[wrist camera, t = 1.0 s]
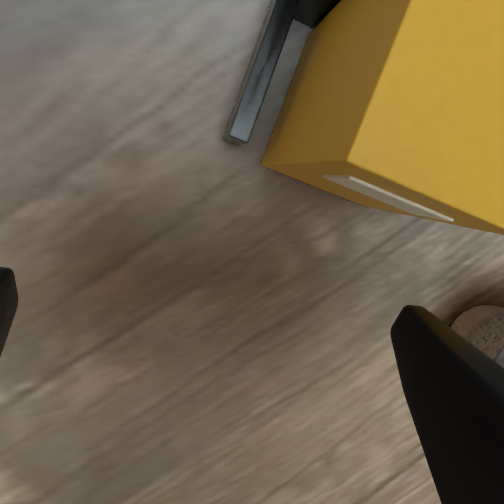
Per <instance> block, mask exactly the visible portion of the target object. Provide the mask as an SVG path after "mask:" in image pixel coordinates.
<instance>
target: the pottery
mask: <svg viewBox="0 0 504 504" xmlns="http://www.w3.org/2000/svg"><path fill="white" fill-rule="evenodd" d="M450 328H452V329H453V330H454V331H456V332H457V333H458V334H460V335H461V336H462V337H464V338H465V339H466V340H468V341H469V342H470V343H472V344H473V345H474V346H476V347H477V348H478V349H479V350H481V351H482V352H483V353H485V354H486V355H487V356H489V357H490V358H491V359H493V360H494V361H495V362H497V363H498V364H499V365H501V366H502V367H503V368H504V307H503V308H500V307H498V306H493V305H481V306H476V307H473V308H470V309H469V310H467V311H465V312H463V313H462V314H461V315H460V316H459V317H458V318H457V319H456V320H455V321H454V322H453V324H452V325H451V327H450Z"/></svg>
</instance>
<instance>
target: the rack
mask: <svg viewBox="0 0 504 504" xmlns="http://www.w3.org/2000/svg"><path fill="white" fill-rule="evenodd" d="M340 1H341V0H271V3H270V6H269V9H268V11H267V14H266V17H265V20H264V23H263V26H262V28H261V31H260V34H259V37H258V40H257V43H256V45H255V48H254V51H253V54H252V57H251V59H250V62H249V65H248V68H247V71H246V74H245V76H244V79H243V82H242V85H241V88H240V91H239V93H238V96H237V99H236V102H235V105H234V107H233V110H232V113H231V116H230V119H229V122H228V124H227V127H226V130H225V133H224V136H223V140H225V141H227V142H229V143H232V144H234V145H237V146H240V145H243V144H246V143H248V141H249V138H250V135H251V132H252V130H253V127H254V124H255V121H256V119H257V116H258V113H259V110H260V108H261V105H262V102H263V99H264V97H265V94H266V91H267V88H268V86H269V83H270V80H271V77H272V75H273V72H274V69H275V66H276V64H277V61H278V58H279V55H280V53H281V50H282V47H283V44H284V42H285V39H286V36H287V33H288V31H289V28H290V25H291V22H292V20H293V18H294V19H296V20H298V21H300V22H302V23H304V24H306V25H308V26H310V27H312V28H315V27H316V26H317V25H318V24H319V23H320V22H321V21H322V20H323V19H324V18H325V17H326V16H327V15H328V14H329V13H330V12H331V11H332V10H333V9H334V8H335V6H336V5H337V4H338V3H339V2H340Z"/></svg>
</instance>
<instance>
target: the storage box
mask: <svg viewBox="0 0 504 504" xmlns="http://www.w3.org/2000/svg"><path fill="white" fill-rule="evenodd" d="M261 165H262V166H265V167H267V168H270V169H272V170H275V171H277V172H280V173H282V174H285V175H287V176H290V177H292V178H295V179H297V180H300V181H302V182H304V183H307V184H309V185H312V186H314V187H317V188H319V189H322V190H324V191H327V192H329V193H332V194H334V195H337V196H339V197H342V198H344V199H347V200H349V201H352V202H354V203H357V204H359V205H362V206H367V207H372V208H377V209H381V210H386V211H391V212H396V213H401V214H406V215H410V216H415V217H420V218H425V219H430V220H435V221H439V222H444V223H449V224H454V225H459V226H464V227H469V228H473V229H478V230H483V231H488V232H493V233H498V234H502V235H504V0H341V1H340V2H339V3H338V4H337V5H336V6H335V8H334V9H333V10H332V11H331V12H330V13H329V14H328V15H327V16H326V17H325V18H324V19H323V20H322V21H321V22H320V23H319V24H318V25H317V26H316V27H315V28H314V29H313V30H312V31H311V32H310V33H309V35H308V38H307V41H306V43H305V46H304V49H303V51H302V54H301V57H300V59H299V62H298V65H297V68H296V70H295V73H294V76H293V78H292V81H291V84H290V86H289V89H288V92H287V94H286V97H285V100H284V103H283V105H282V108H281V111H280V113H279V116H278V119H277V121H276V124H275V127H274V129H273V132H272V135H271V138H270V140H269V143H268V146H267V148H266V151H265V154H264V156H263V159H262V162H261Z"/></svg>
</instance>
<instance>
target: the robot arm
mask: <svg viewBox="0 0 504 504" xmlns="http://www.w3.org/2000/svg"><path fill="white" fill-rule="evenodd" d="M17 306H18V293H17V288H16V282H15V276H14V272H13V271H12V269H10V268H5V267H0V356H1V354H2V351H3V348H4V345H5V342H6V339H7V336H8V333H9V330H10V327H11V324H12V322H13V319H14V316H15V313H16V310H17ZM391 340H392V344H393V349H394V353H395V357H396V362H397V366H398V370H399V375H400V379H401V383H402V387H403V391H404V394H405V397H406V401H407V404H408V406H409V409H410V412H411V415H412V418H413V421H414V424H415V427H416V430H417V433H418V436H419V439H420V442H421V445H422V448H423V451H424V453H425V456H426V459H427V462H428V465H429V468H430V471H431V474H432V477H433V480H434V483H435V486H436V489H437V492H438V495H439V498H440V500H441V503H442V504H504V368H503V367H502V366H501V365H499V364H498V363H497V362H495V361H494V360H493V359H491V358H490V357H489V356H487V355H486V354H485V353H483V352H482V351H481V350H479V349H478V348H477V347H476V346H474V345H473V344H472V343H470V342H469V341H468V340H466V339H465V338H464V337H462V336H461V335H460V334H458V333H457V332H456V331H454V330H453V329H452V328H450V327H449V326H448V325H446V324H445V323H444V322H442V321H441V320H440V319H438V318H437V317H436V316H434V315H433V314H432V313H430V312H429V311H428V310H426V309H425V308H424V307H421V306H414V305H407V306H405V307H403V309H402V310H401V312H400V314H399V315H398V317H397V319H396V320H395V322H394V324H393V325H392V328H391Z"/></svg>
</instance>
